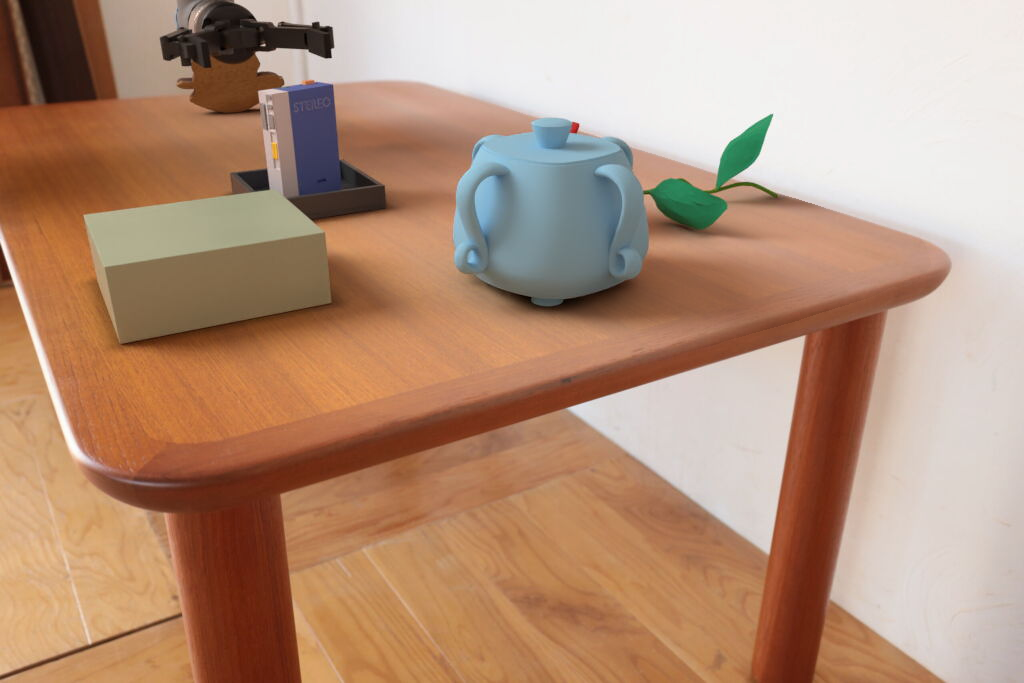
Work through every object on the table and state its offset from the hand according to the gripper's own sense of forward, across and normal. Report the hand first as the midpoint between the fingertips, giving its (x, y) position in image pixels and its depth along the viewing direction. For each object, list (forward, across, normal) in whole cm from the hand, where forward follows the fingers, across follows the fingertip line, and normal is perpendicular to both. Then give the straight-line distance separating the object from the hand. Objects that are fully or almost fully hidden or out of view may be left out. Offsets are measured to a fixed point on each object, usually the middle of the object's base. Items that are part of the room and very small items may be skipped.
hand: (268, 50), depth 99 cm
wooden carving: (-45, -5, -15) cm, 48 cm away
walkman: (+10, 0, -14) cm, 17 cm away
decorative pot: (+43, -11, -15) cm, 47 cm away
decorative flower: (+34, -31, -15) cm, 48 cm away
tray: (+10, 0, -15) cm, 18 cm away
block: (+32, +15, -15) cm, 38 cm away
